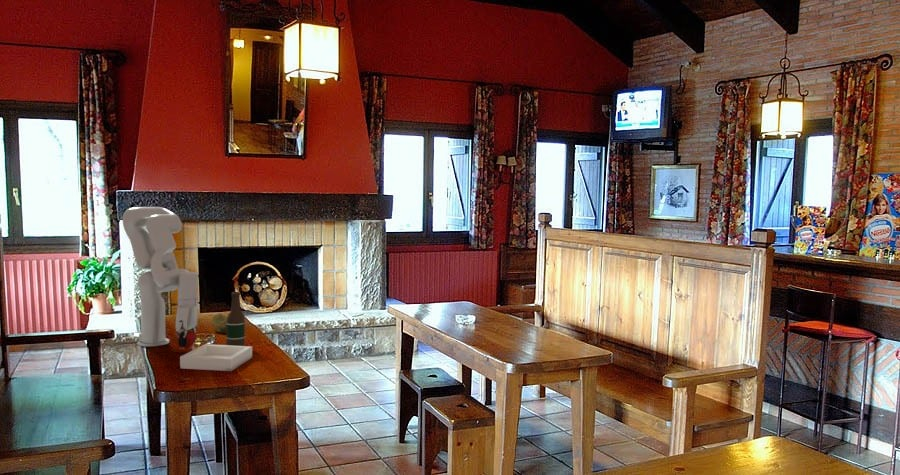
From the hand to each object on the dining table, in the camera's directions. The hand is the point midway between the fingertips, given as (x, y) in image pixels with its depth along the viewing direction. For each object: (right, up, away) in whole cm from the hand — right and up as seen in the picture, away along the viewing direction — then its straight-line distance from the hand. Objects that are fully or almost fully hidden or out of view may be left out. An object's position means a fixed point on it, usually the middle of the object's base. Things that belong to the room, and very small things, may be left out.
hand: (186, 344), depth 269 cm
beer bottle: (+17, -3, +10) cm, 20 cm away
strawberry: (0, -2, 0) cm, 2 cm away
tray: (+18, -5, -14) cm, 23 cm away
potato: (+1, -1, +40) cm, 40 cm away
